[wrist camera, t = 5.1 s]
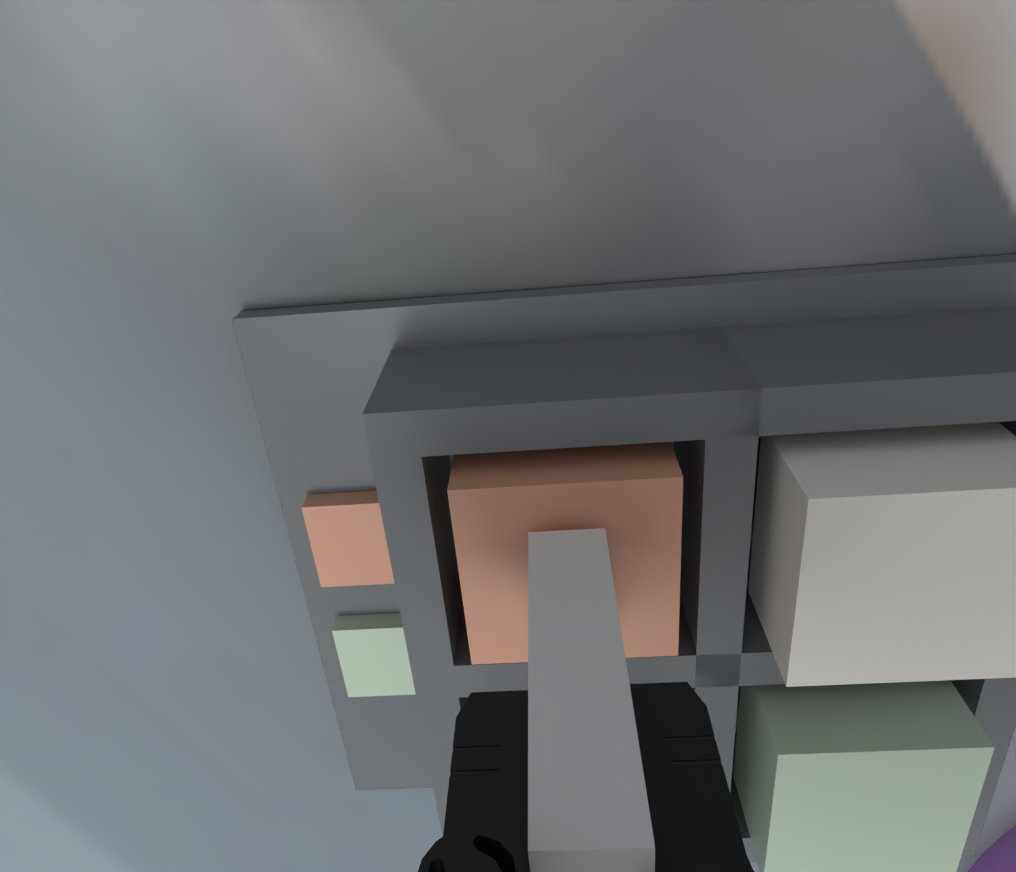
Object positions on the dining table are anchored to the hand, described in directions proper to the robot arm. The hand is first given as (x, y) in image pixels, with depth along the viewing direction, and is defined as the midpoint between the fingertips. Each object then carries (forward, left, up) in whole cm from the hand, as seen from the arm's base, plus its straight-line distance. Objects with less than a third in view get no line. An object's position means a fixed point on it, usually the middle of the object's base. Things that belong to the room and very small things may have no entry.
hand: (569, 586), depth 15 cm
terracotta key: (0, 0, -3) cm, 3 cm away
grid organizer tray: (-2, +3, -5) cm, 6 cm away
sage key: (-7, +7, -2) cm, 9 cm away
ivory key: (-6, 0, -2) cm, 7 cm away
